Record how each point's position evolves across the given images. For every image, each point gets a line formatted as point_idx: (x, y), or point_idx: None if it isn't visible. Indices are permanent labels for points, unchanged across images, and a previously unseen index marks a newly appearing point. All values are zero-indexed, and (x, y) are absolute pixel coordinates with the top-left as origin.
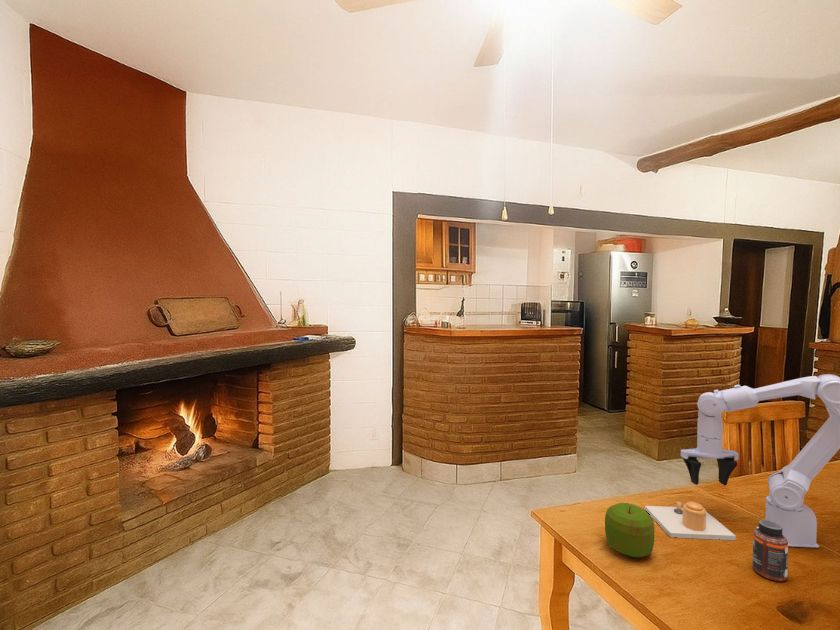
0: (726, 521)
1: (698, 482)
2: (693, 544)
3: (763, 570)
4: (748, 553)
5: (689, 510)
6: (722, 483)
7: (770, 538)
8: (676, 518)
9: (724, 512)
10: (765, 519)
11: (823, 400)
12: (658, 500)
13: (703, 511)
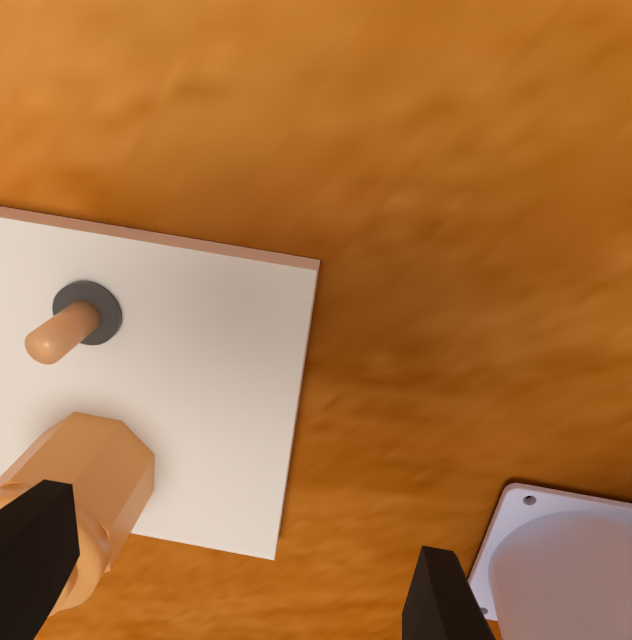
0: (398, 387)
1: (59, 593)
2: None
3: None
4: (256, 608)
5: None
6: (409, 602)
7: None
8: (33, 380)
9: (504, 281)
10: (537, 597)
11: None
12: (63, 22)
13: (64, 604)
